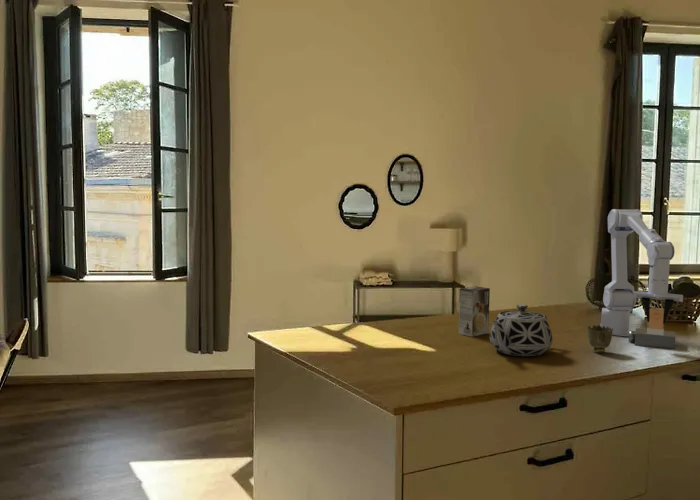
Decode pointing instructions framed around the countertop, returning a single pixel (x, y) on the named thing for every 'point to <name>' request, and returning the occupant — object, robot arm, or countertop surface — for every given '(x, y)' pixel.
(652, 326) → the tan single stud brick
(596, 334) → the cup
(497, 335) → the patterned lidded jar
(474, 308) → the coffee box
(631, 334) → the grey plate with rails
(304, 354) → the countertop surface
